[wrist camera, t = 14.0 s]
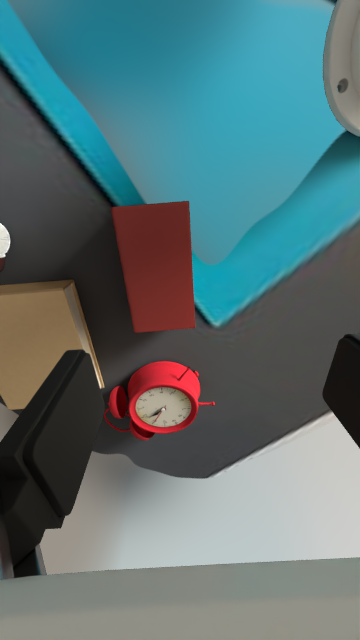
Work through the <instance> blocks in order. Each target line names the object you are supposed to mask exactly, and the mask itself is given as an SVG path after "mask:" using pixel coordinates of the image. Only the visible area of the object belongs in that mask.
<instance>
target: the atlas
mask: <svg viewBox="0 0 360 640" xmlns="http://www.w3.org/2000/svg"><path fill="white" fill-rule="evenodd" d="M78 349H83V350H85V352H86V353H89V354H90V355H91V359H92V362H93V365H94V369H95V372H96V376H97V379H98V382H99V386H100V389H101V388H104V387H105V386H104V383H103V379H102V376H101V372H100V369H99V365H98V362H97V359H96V355H95V352H94V348H93V345H92V341H91V338H90V335H89V331H88V328H87V324H86V321H85V317H84V314H83V311H82V307H81V304H80V300H79V297H78V293H77V290H76V287H75V283H74V280H60V281H48V282H36V283H23V284H11V285H0V395H1V397H2V398H3V400H4V402H5V404H6V405H7V407H8V409H9V410H13V409H25V407H26V406H27V404H28V403H29V402H30V400H31V399H32V397H33V396H34V395H35V393H36V392H37V390H38V389H39V388H40V386H41V385H42V383H43V382H44V381H45V379H46V378H47V376H48V375H49V374H50V372H51V371H52V369H53V368H54V367H55V365H56V364H57V362H58V361H59V360H60V358H61V357H62V356H63V354H64V353H65V352H66V351H67V350H78Z"/></svg>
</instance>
